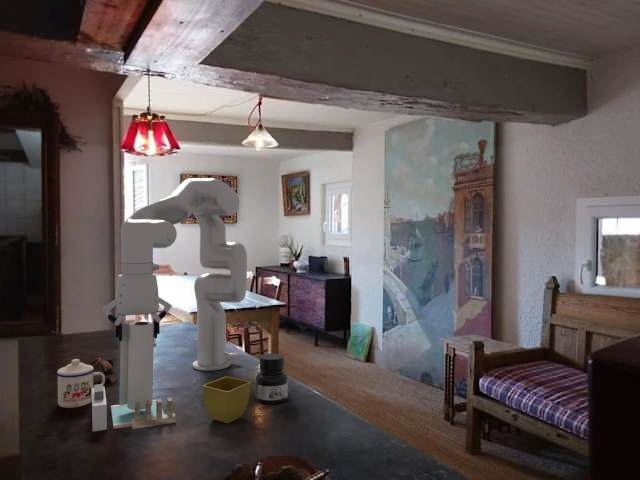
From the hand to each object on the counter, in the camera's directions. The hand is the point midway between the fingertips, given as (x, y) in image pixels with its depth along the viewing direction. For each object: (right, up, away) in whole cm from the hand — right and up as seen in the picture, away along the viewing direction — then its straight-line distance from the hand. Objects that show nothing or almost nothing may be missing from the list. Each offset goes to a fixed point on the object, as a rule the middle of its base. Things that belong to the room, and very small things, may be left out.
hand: (137, 338), depth 127 cm
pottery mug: (-21, -19, +27) cm, 39 cm away
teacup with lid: (-19, -19, +9) cm, 29 cm away
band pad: (0, -20, 0) cm, 20 cm away
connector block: (-8, -20, -3) cm, 21 cm away
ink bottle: (+33, -20, +13) cm, 40 cm away
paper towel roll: (0, -18, +1) cm, 18 cm away
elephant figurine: (-23, -17, +75) cm, 80 cm away
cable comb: (+6, -20, -6) cm, 21 cm away
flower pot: (+23, -20, -2) cm, 30 cm away
